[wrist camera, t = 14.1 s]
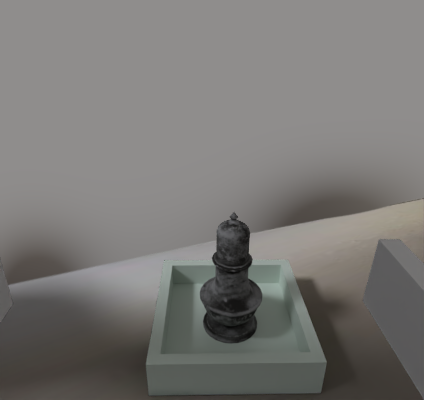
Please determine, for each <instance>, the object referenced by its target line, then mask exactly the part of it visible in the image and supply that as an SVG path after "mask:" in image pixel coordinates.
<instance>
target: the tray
mask: <svg viewBox="0 0 424 400" xmlns="http://www.w3.org/2000/svg"><path fill="white" fill-rule="evenodd" d="M215 267H216V266H215V265H214V263H213V261H212V260H164V264H163V270H162V275H161V281H160V287H159V292H158V298H157V304H156V309H155V315H154V321H153V326H152V332H151V338H150V343H149V349H148V355H147V360H146V373H147V383H148V393H149V396H164V395H232V394H300V393H321V390H322V385H323V380H324V375H325V370H326V365H327V361H326V359H325V356H324V353H323V351H322V348H321V345H320V343H319V340H318V338H317V335H316V332H315V330H314V327H313V324H312V322H311V319H310V316H309V314H308V311H307V309H306V306H305V303H304V301H303V298H302V295H301V293H300V290H299V287H298V285H297V282H296V280H295V277H294V274H293V272H292V269H291V266H290V264H289V261H288V260H252V265H251V266H250V267H249V269H248V279H251V280H252V281H254V282H255V283H256V284H257V285H258V286H259V287H260V289H261V291H262V294H263V295H262V302H261V304H260V306H259V307H258V308H257V310H256V312H255V314H254V315H255V317H256V320H257V329H256V331H255V333H254V334H253V335H252V336H251V338H249V339H247V340H246V341H243V342H240V343H231V344H230V343H223V342H220V341H217V340H215V339H213V338H212V337H210V336H209V335H208V334H207V332H206V331H205V329H204V326H203V319H204V315H205V314H206V312H207V311H206V309H205V307H204V305H203V303H202V301H201V299H200V290H201V287H202V286H203V284H204V283H205V282H207V281H208V280H209V279H211V278H213V277H215Z"/></svg>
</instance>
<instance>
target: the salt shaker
mask: <svg viewBox="0 0 424 400" xmlns="http://www.w3.org/2000/svg"><path fill="white" fill-rule="evenodd" d="M230 218H231V220H227V221H224V222H222V223H221V224H220V225H219V226H218V230H217V252H216V253H214V255H213V257H212V261H213V263H214V265H215V266H216V267H215V277H213V278H211V279H209V280H208V281H207V282H205V283H204V284H203V286H202V287H201V290H200V299H201V301H202V303H203V305H204V307H205V309H206V311H207V312H206V314H205V315H204V319H203V326H204V329H205V331H206V332H207V334H208V335H209V336H210V337H212V338H213V339H215V340H217V341H220V342H223V343H230V344H231V343H240V342H243V341H246V340H247V339H249V338H251V336H252V335H253V334H254V333H255V331H256V329H257V320H256V317H255V315H254V314H255V312H256V310H257V308H258V307H259V306H260V304H261V302H262V295H263V294H262V291H261V289H260V287H259V286H258V285H257V284H256V283H255V282H254V281H252V280H251V279H248V269H249V267H250V266H251V265H252V260H253V259H252V257H251V255H250V254H249V238H250V231H249V228H248V227H247V225H246V224H245V223H243V222H241V221H238V220H236V219H237V218H238V216H237V215H236V214H235V213H233V214H232V215H231V216H230Z"/></svg>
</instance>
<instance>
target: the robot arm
mask: <svg viewBox="0 0 424 400" xmlns="http://www.w3.org/2000/svg"><path fill="white" fill-rule="evenodd" d="M363 302H364V304H365V305H366V307H367V308H368V310H369V312H370V313H371V315H372V317H373V318H374V320H375V321H376V323H377V325H378V326H379V328H380V330H381V331H382V333H383V334H384V336H385V338H386V339H387V341H388V342H389V344H390V346H391V347H392V349H393V351H394V352H395V354H396V355H397V357H398V359H399V360H400V362H401V364H402V365H403V367H404V368H405V370H406V372H407V373H408V375H409V377H410V378H411V380H412V381H413V383H414V385H415V386H416V388H417V390H418V391H419V393H420V394H421V396H422V398H423V399H424V263H423V262H422V261H421V260H420V259H419V258H418V257H417V256H416V255H415V254H414V253H413V252H412V251H411V250H410V249H409V248H408V247H407V246H406V245H405V244H404V243H403V242H402V241H401V240H400V239H379V241H378V245H377V249H376V252H375V256H374V260H373V264H372V267H371V271H370V275H369V278H368V282H367V286H366V290H365V293H364V297H363ZM12 305H13V302H12V298H11V295H10V291H9V287H8V284H7V281H6V277H5V273H4V270H3V266H2V263H1V259H0V323H1V321H2V320H3V318H4V317H5V315H6V314H7V312H8V311H9V309H10V308H11V306H12Z"/></svg>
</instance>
